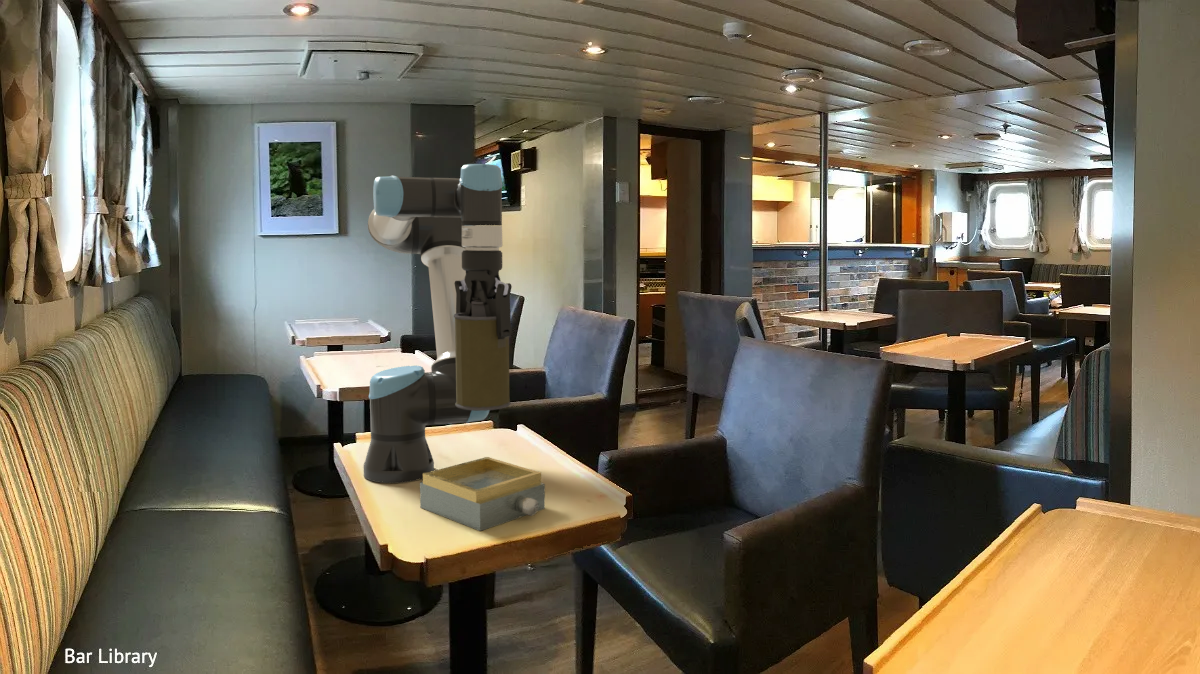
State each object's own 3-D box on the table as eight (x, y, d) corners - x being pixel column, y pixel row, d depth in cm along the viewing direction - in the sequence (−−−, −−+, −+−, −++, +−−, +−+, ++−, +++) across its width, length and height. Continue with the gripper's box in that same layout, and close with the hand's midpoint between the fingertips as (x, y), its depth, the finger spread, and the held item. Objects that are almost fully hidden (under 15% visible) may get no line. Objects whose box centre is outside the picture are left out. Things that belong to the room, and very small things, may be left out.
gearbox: (420, 507, 154) (419, 472, 153) (484, 488, 166) (484, 455, 165) (491, 535, 140) (490, 497, 139) (555, 512, 152) (555, 476, 151)
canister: (501, 412, 145) (499, 303, 143) (447, 409, 147) (444, 301, 145) (517, 399, 156) (517, 298, 153) (467, 397, 158) (465, 297, 155)
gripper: (434, 248, 151) (436, 368, 154) (500, 250, 139) (501, 380, 142) (465, 247, 156) (466, 363, 160) (531, 250, 144) (531, 375, 147)
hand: (483, 371), depth 151 cm, fingers open, 6 cm apart
